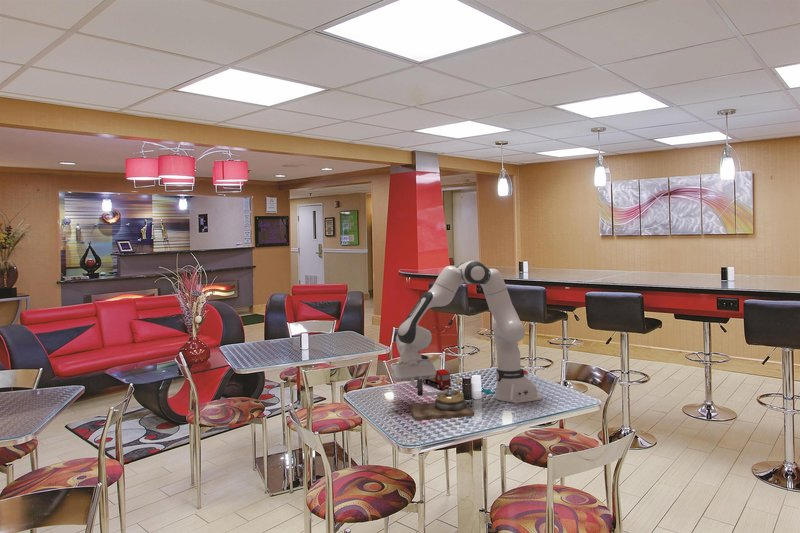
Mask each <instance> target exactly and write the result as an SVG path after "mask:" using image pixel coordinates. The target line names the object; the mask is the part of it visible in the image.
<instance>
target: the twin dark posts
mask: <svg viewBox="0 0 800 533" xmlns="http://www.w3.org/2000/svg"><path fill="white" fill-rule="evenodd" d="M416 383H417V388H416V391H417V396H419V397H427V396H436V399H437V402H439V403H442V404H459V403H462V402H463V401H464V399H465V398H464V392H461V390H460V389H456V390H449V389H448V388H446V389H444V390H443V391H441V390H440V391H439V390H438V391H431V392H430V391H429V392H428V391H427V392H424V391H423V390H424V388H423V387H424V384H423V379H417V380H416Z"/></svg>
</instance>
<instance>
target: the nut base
mask: <svg viewBox="0 0 800 533" xmlns="http://www.w3.org/2000/svg"><path fill="white" fill-rule="evenodd" d="M408 409H409V411H410V413H411V415H412V417H413V419H414V420H415V421H424V420H434V419H435V420H436V419H437V420H438V419H439V420H440V419H449V418H465V417H466V418H467V417H475V412H474V410H472V408H471V407H470V406H469V405H468V404H467V400H466V399H465V398H464V401H463V402H462V403H459V404H442V403H439V402H437V398H436V399H435V400H434V402H429V403H427V402H426V403H413V404H412V403H411V404H408Z"/></svg>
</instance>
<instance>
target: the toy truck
mask: <svg viewBox="0 0 800 533" xmlns="http://www.w3.org/2000/svg"><path fill="white" fill-rule="evenodd" d="M452 379H453V377H452V376H451V374H450V372H449V371H448V370H446V369H444V368H442V369H438V370H436V376H435V377H434V378H431V379H422V381H423V386H425V385H428V383H430V384H433V385H435V386H436V389H437V390H438V391H439V390H442V389H448V388H450V387H451V380H452Z"/></svg>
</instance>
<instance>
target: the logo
mask: <svg viewBox="0 0 800 533" xmlns="http://www.w3.org/2000/svg"><path fill="white" fill-rule="evenodd" d="M455 380H458V381H456V384H458V383H459V385H462V384H461V380H462V379H460V378H454V379H453V381H455ZM482 389H483V390H482V391H483V393H485V394H487V395H495V393H496V392H494V391H491V390H490V389H489V388H488V389H486V388H483V387H482ZM482 391H481V392H482Z"/></svg>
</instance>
